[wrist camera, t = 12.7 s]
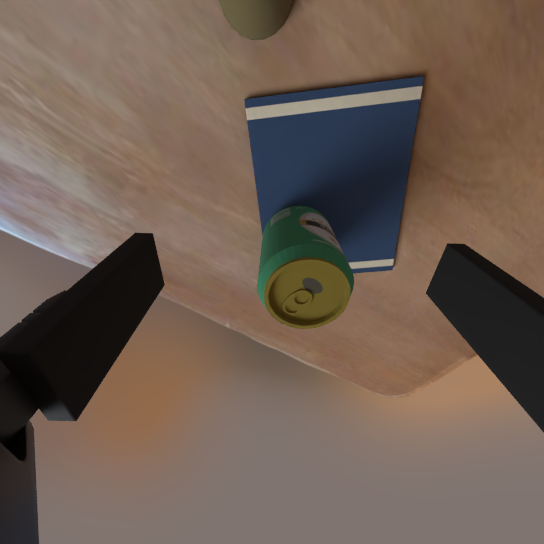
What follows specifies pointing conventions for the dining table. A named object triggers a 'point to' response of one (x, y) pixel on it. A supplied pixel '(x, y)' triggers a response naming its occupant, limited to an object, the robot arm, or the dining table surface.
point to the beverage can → (303, 269)
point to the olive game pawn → (256, 16)
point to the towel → (339, 160)
